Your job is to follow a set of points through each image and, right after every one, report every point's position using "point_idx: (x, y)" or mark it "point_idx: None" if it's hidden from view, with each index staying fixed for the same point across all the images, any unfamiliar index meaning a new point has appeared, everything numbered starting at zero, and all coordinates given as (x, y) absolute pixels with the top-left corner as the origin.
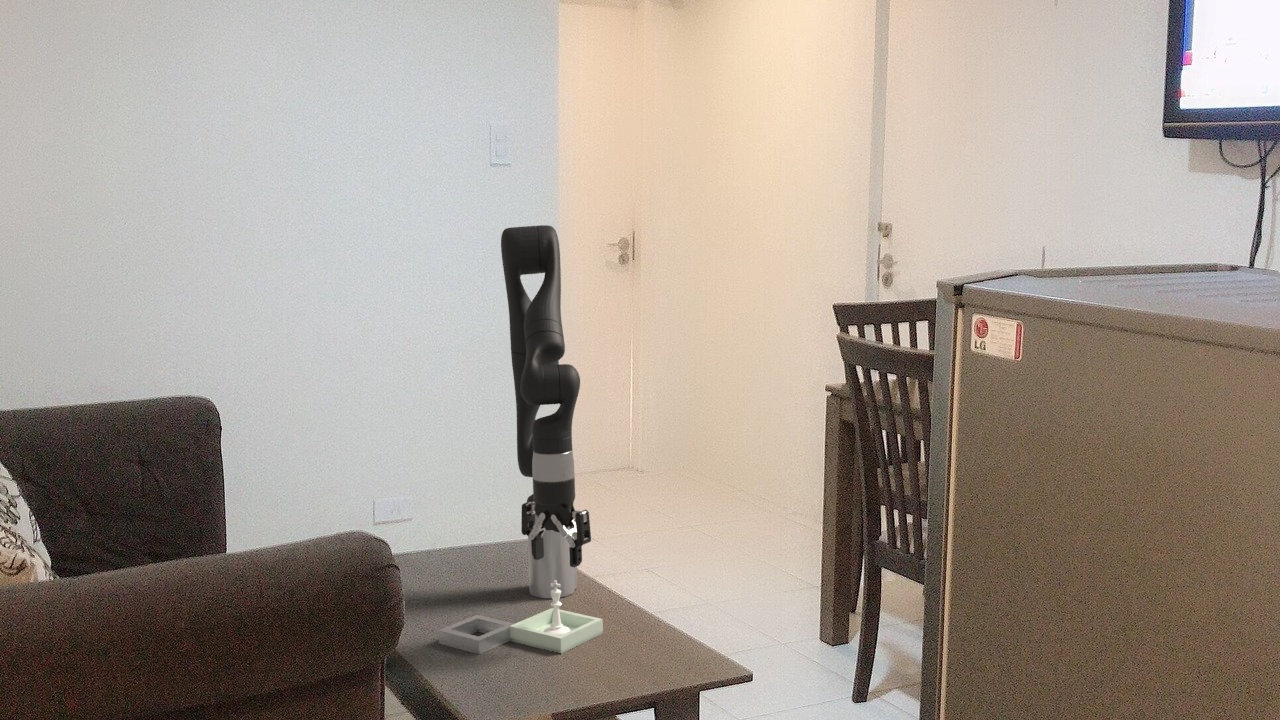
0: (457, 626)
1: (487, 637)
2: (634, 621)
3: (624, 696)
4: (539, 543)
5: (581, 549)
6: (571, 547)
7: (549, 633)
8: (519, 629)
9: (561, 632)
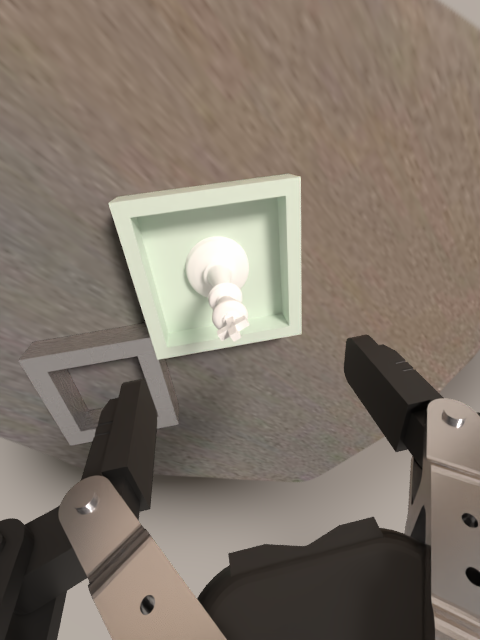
0: (73, 418)
1: (173, 407)
2: (297, 3)
3: (469, 354)
4: (142, 465)
5: (434, 391)
6: (406, 445)
7: (261, 332)
8: (186, 353)
9: (243, 279)
